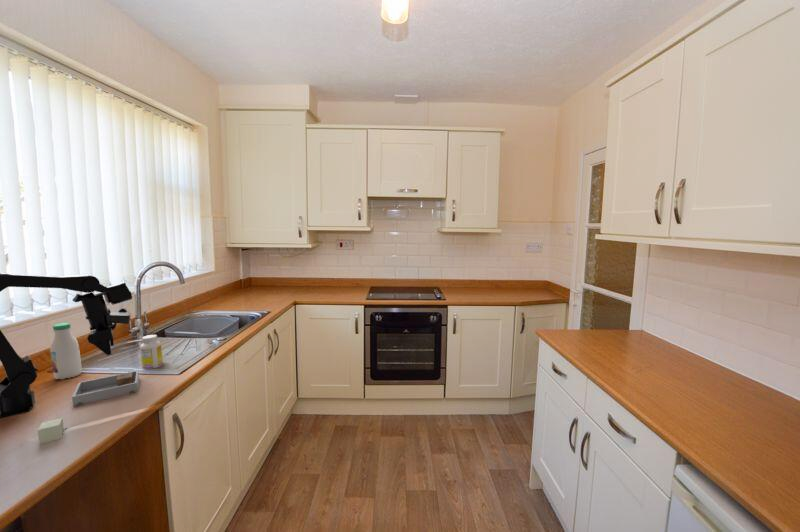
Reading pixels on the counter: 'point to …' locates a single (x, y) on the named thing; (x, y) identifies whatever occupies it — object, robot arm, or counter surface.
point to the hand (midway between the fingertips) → (110, 350)
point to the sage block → (50, 430)
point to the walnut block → (124, 379)
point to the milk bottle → (65, 353)
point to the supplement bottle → (151, 352)
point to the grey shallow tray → (103, 389)
